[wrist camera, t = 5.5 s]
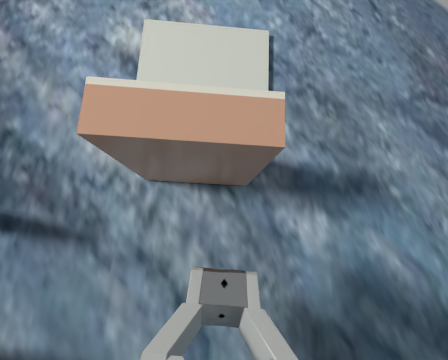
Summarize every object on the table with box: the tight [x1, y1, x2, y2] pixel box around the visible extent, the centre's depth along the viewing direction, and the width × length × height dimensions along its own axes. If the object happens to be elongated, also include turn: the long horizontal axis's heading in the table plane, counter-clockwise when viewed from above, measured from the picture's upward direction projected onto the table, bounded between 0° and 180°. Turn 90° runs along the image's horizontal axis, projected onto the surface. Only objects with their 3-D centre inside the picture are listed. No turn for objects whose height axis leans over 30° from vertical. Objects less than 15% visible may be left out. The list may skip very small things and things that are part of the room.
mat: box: [137, 19, 269, 91], centre depth 24 cm, size 14×14×1 cm
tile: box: [77, 76, 285, 186], centre depth 17 cm, size 3×10×12 cm, turn 87°
